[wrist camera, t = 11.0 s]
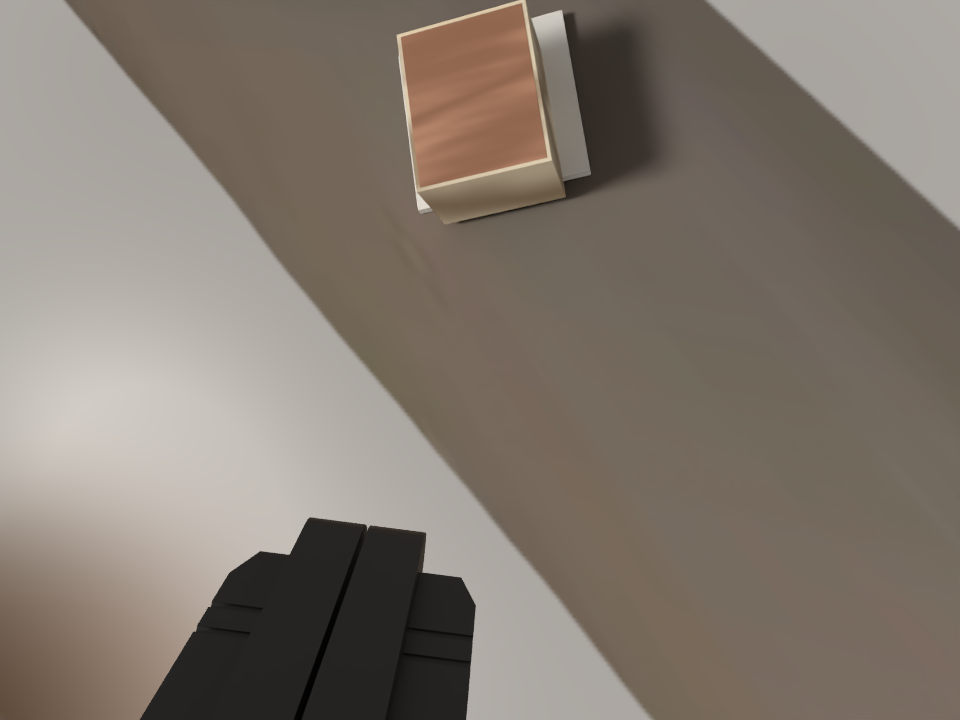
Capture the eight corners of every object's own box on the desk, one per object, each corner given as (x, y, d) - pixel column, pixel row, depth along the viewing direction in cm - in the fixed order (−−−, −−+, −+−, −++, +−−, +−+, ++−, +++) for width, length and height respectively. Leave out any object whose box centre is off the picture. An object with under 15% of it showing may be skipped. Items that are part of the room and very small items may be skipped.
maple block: (551, 160, 39) (524, -2, 40) (416, 192, 40) (396, 34, 42) (565, 197, 43) (541, 51, 45) (445, 224, 45) (425, 82, 47)
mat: (591, 175, 44) (589, 170, 43) (421, 213, 46) (418, 210, 45) (563, 16, 46) (561, 9, 45) (401, 60, 48) (398, 55, 47)
